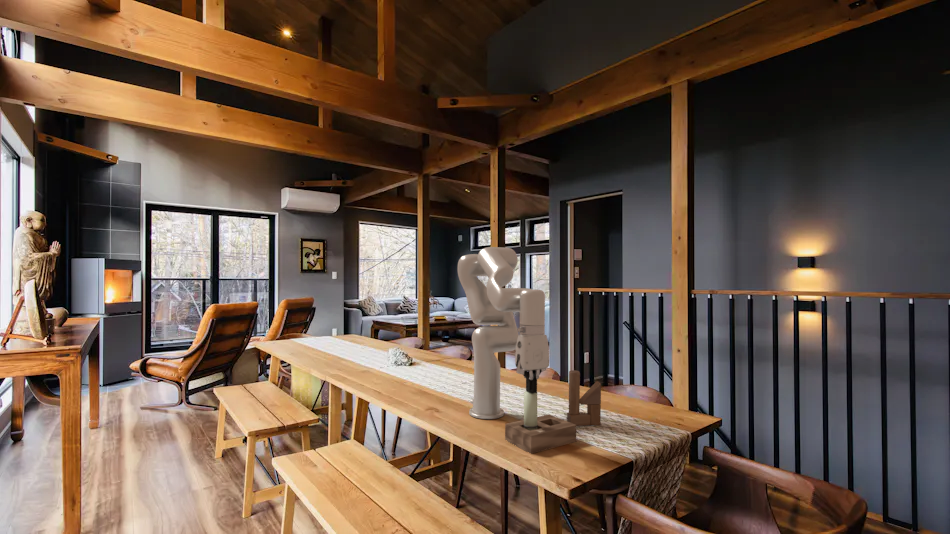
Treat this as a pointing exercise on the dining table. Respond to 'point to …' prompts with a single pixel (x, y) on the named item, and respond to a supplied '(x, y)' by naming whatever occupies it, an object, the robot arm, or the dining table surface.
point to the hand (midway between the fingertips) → (531, 392)
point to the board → (541, 434)
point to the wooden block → (583, 402)
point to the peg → (530, 411)
